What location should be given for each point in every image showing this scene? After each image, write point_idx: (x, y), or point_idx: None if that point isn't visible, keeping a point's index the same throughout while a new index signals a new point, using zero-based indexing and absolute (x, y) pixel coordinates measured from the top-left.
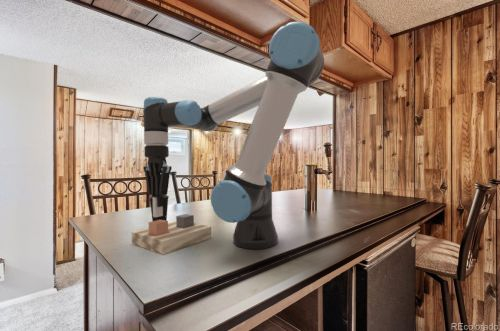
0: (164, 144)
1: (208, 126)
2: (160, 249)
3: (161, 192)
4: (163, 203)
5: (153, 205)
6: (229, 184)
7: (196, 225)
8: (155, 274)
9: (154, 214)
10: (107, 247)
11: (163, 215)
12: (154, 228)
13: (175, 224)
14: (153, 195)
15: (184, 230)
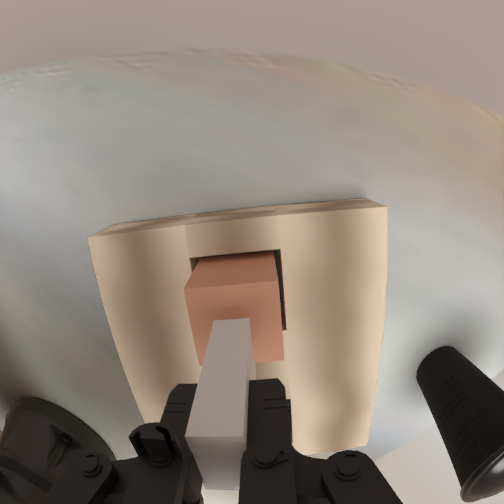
0: None
1: None
2: (119, 226)
3: (63, 477)
4: (459, 460)
5: (232, 373)
6: None
7: None
8: (4, 140)
9: (226, 329)
10: (399, 107)
11: (438, 417)
12: (209, 275)
13: (323, 413)
14: (244, 458)
15: None
